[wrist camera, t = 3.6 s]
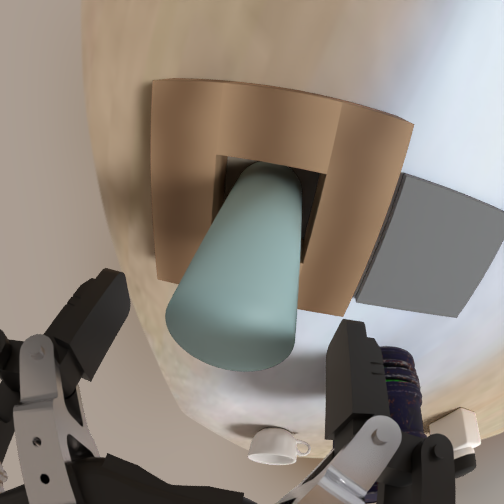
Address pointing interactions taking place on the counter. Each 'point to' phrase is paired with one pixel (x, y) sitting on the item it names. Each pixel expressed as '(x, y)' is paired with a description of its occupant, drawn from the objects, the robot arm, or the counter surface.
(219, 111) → the pocket block
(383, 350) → the storage jar
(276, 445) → the teacup
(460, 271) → the mat
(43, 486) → the robot arm
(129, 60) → the counter surface
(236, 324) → the peg
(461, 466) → the medicine bottle
